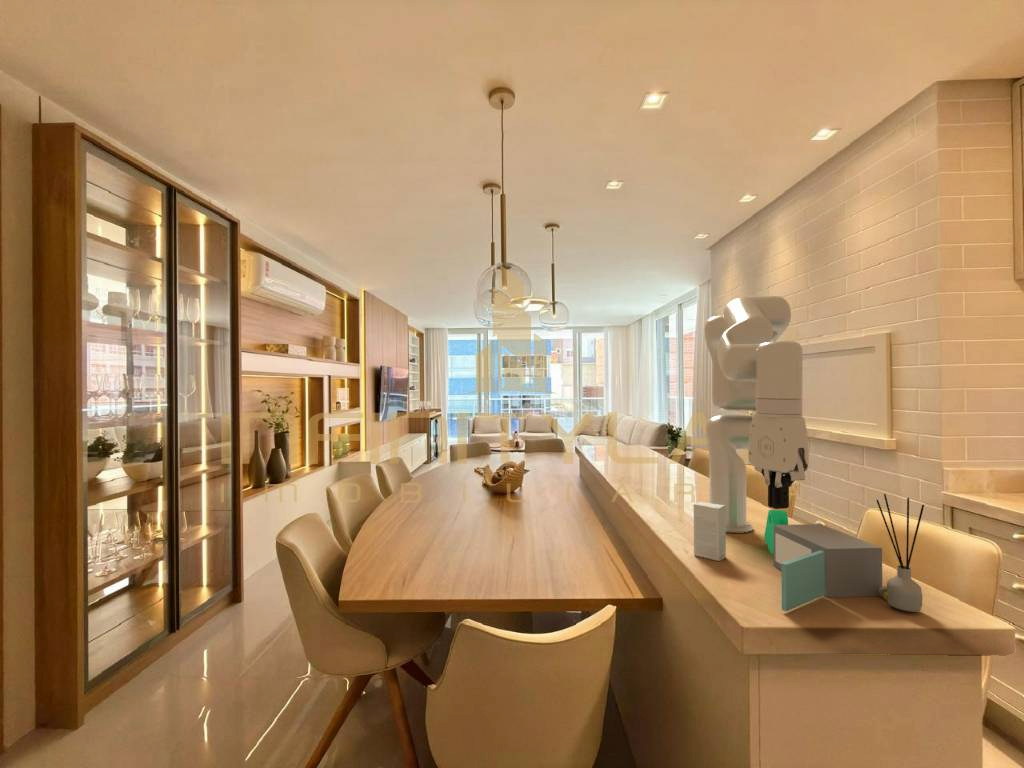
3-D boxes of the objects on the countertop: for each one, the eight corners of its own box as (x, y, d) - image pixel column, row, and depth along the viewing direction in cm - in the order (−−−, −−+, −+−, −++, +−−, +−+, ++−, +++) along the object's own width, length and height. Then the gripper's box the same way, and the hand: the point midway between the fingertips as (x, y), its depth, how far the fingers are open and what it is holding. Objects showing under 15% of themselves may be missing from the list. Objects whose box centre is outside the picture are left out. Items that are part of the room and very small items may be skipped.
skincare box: (726, 557, 111) (726, 505, 111) (719, 562, 108) (719, 508, 108) (700, 551, 115) (700, 501, 115) (692, 555, 112) (693, 504, 112)
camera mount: (815, 565, 106) (814, 518, 107) (776, 561, 109) (776, 516, 109) (798, 548, 118) (798, 506, 118) (764, 545, 120) (764, 504, 120)
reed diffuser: (941, 622, 80) (940, 501, 80) (899, 622, 80) (899, 501, 80) (892, 596, 90) (891, 489, 90) (855, 596, 90) (855, 489, 90)
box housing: (772, 566, 105) (772, 525, 105) (820, 565, 106) (820, 524, 106) (826, 597, 89) (825, 548, 89) (882, 595, 90) (882, 547, 90)
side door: (819, 593, 90) (819, 550, 90) (824, 594, 89) (824, 551, 89) (781, 609, 83) (781, 563, 83) (786, 611, 82) (786, 564, 82)
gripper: (733, 406, 95) (732, 499, 95) (795, 411, 80) (794, 520, 81) (764, 406, 97) (764, 496, 97) (831, 410, 82) (830, 517, 82)
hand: (778, 507), depth 89 cm, fingers closed
